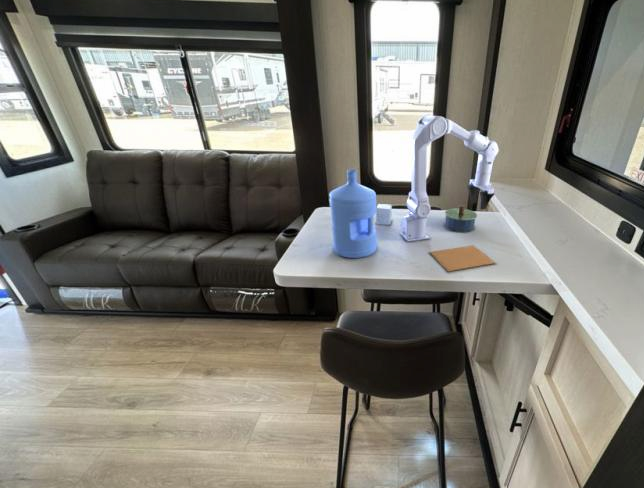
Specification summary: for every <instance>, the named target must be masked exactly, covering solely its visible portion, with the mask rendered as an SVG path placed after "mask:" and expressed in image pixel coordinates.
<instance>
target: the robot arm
mask: <svg viewBox="0 0 644 488" xmlns="http://www.w3.org/2000/svg"><path fill="white" fill-rule="evenodd" d="M416 125H417V126H416V128H415V130H414V133H413V134H412V137H411V141H410V149H411V151H410V152H411V154H410V157H411V160H410V161H411V163H410V164H411V175H410V176H411V190H410V191H409V192H408V198H407V200H406V208H407V209H408V214H407V215H405V216H402V218H401V230H400V235H401V236H402V237H403V238H404V239H405V240H406V242H415V241H420V240H421V241H422V240H429V239H430V236H428V235H427V222H428V220H427V219H428V216H429V215H430V213H431V209H432V208H431V205H430V204H431V203H430V201H429V196H428V193H427V154H428V153H427V151H428V148H427V147H428V146H429V145H430V144H431V143H432V142H434V141H436V140H437V139H440V138H441V137H443V136H444V135H448V134H450V135H453V136H454V137H457V138H458V139H460V140H462V141H463V144H464V146H465V147H467V148H469V149H471V150H473V151H474V152H476V153H477V155H478V156H477V157H478V158H477V162H476V163H477V165H476V171H475V175H474V177H475V178H474V179H473V178H472V179H469V185H468V186H467V189H468V193H469V199H470V200H469V201H470V204H477V200H478V198H479V197H478V196H479V195H480V205H479V206H480V207H479V208H480V210H487V207H488V205H489V203H490V201H491V200H492V198H493V197H494V196H495V192H494V191H495V188H494V187H493V186H492V183H490V181H491V176H492V171H493V164H494V161H495V159H496V156H497V155H498V153H499V151H500V148H499V145H498V143H497V142H496V141H494V140H490V139H489V137H488V136H487V135H485V136H484V135H483V134H481V132H480V130H478V129H475V130H470V131H468V130H467V129H465V128H464V127H462V126H460V125H459V124H457V123H456V122H454V121H453V120H451V119H449V118H447V117H446V118H445V117H443V116H441V115H433V114H430V113H427V114H424V115H423V116H422V117H420V119H419V120H418V121H417V123H416ZM481 190H482V191H481Z"/></svg>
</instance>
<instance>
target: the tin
mask: <svg viewBox="0 0 644 488" xmlns="http://www.w3.org/2000/svg"><path fill="white" fill-rule="evenodd" d="M475 223H476V218H475V219H472V220H456V219H452V218H449V217H448V216H446V215H445V220H444V227H445V228H446V229H447V230H449V231H451V232H455V233H469V232H472V231H473V230H474V228H475Z"/></svg>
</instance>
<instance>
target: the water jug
mask: <svg viewBox="0 0 644 488" xmlns="http://www.w3.org/2000/svg"><path fill="white" fill-rule="evenodd" d="M346 173H347V176H346V178H347V181H346V183H345V184H344V185H341V186H339V187H337V188H335V189H333V190H331V191H330V192H329V207H330V216H331V217H330V218H331V230H332V238H333V243H332V245H333V250H334V252H335V253H336V255H338V256H340V257H343V258H348V259H360V258H365V257H368V256H371V255H373V253H375V252H376V250H377V249H378V241H377V229H376V228H375V227H374V217H375V216H376V208H377V194H376V192H375V190H374V189H371V188H369V187H367V186H365V185H363V184H360V183H359V182H358V175H357V173H358V171H357V170H356V169H348V170H346Z"/></svg>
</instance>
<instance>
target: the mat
mask: <svg viewBox="0 0 644 488" xmlns="http://www.w3.org/2000/svg"><path fill="white" fill-rule="evenodd" d="M429 254H431V256H432V257H433V258H434V259H435V260H436V261H437V262H438V263H439V264H440V265H441V266H442V267H443V268H444V269H445V271H447V272H448V273H450V272H451V273H452V272H455V271H456V272H457V271H462V270H467V269H473V268H479V267H484V266H489V265H494V264H495V262H494V261H493V260H492V259H491V258H489V257H488V256H487V255H486V254H484V253H483V252H482V251H480V250H479V249H478V248H477V247H475V246H474V245H467V246H461V247H455V248H448V249H442V250H435V251H430V252H429Z"/></svg>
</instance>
